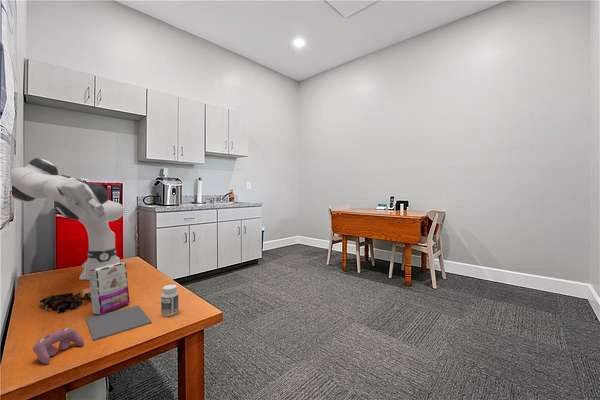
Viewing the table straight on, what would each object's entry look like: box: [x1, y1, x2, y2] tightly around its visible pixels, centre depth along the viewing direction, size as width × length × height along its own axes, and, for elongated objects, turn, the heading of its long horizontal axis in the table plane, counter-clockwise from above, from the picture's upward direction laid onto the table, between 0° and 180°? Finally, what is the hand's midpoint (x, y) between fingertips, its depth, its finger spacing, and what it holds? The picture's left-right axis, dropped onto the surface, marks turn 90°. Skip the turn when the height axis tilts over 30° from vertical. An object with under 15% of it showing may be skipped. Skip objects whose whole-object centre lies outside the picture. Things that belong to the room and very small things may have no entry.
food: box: [38, 287, 91, 314], centre depth 108 cm, size 22×19×4 cm
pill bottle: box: [160, 284, 179, 317], centre depth 98 cm, size 6×6×10 cm
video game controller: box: [32, 327, 85, 365], centre depth 73 cm, size 10×5×7 cm, turn 164°
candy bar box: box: [88, 261, 131, 316], centre depth 100 cm, size 11×5×16 cm, turn 160°
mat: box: [85, 304, 153, 341], centre depth 91 cm, size 18×16×1 cm
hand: (101, 208), depth 101 cm, fingers closed
